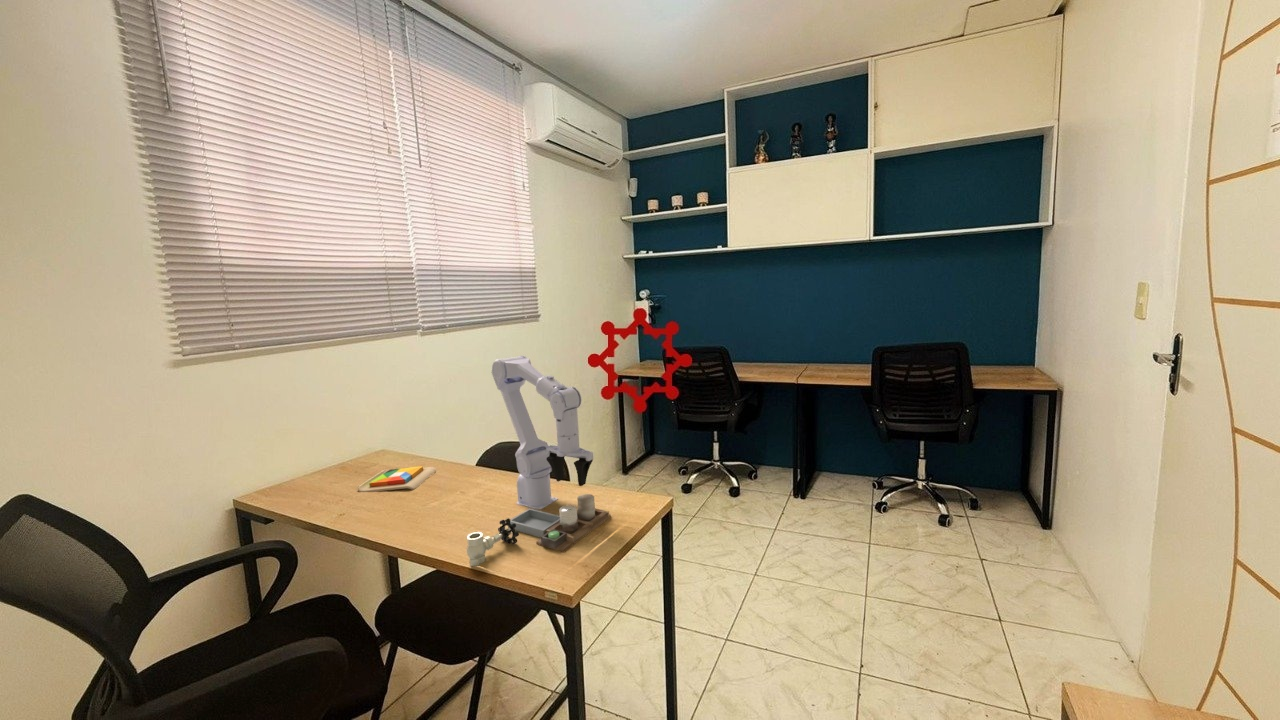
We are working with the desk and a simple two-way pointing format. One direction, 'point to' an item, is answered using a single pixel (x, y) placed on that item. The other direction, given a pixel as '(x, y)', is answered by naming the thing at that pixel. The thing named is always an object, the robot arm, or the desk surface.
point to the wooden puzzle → (397, 479)
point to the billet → (568, 519)
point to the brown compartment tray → (586, 523)
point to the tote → (534, 522)
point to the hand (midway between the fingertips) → (571, 482)
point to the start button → (553, 535)
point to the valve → (488, 542)
